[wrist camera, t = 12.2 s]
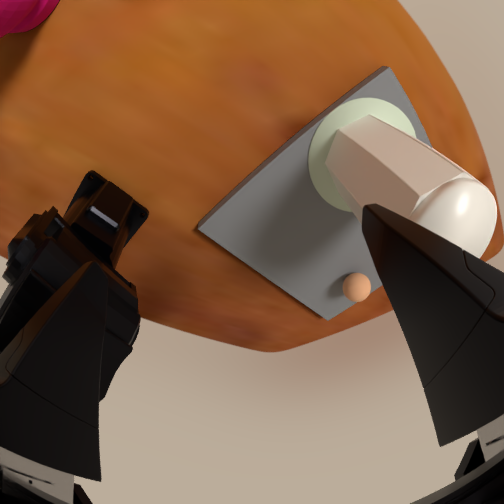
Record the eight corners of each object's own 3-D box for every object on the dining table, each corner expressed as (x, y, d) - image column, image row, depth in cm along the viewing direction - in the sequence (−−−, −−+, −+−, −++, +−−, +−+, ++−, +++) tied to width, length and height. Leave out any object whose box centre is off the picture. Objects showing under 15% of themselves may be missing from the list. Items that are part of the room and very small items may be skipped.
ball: (346, 290, 29) (355, 311, 27) (333, 278, 28) (342, 300, 26) (368, 275, 28) (379, 295, 26) (357, 262, 27) (368, 283, 24)
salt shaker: (382, 204, 22) (451, 296, 14) (315, 185, 21) (376, 290, 12) (414, 136, 18) (510, 207, 10) (346, 104, 17) (451, 163, 8)
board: (325, 314, 33) (328, 321, 33) (198, 222, 23) (197, 230, 22) (454, 220, 26) (459, 225, 25) (382, 66, 15) (390, 67, 15)
